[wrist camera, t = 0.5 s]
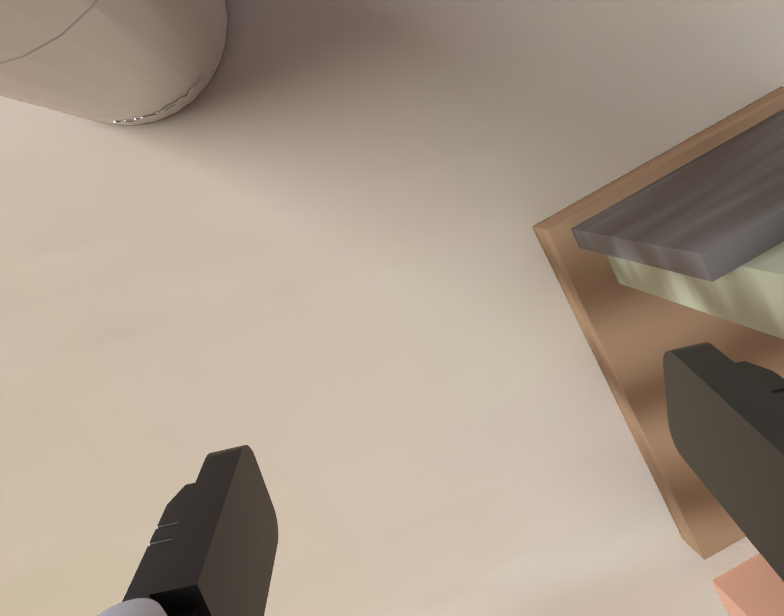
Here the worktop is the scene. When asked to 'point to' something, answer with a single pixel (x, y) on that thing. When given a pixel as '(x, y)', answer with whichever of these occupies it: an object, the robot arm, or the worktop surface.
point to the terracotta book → (752, 589)
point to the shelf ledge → (654, 334)
